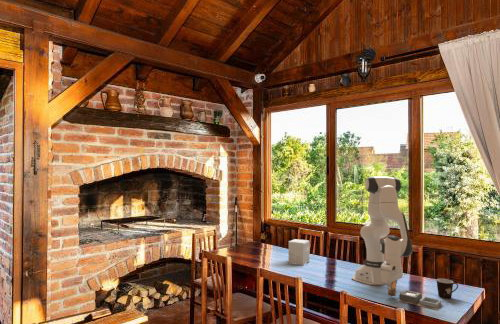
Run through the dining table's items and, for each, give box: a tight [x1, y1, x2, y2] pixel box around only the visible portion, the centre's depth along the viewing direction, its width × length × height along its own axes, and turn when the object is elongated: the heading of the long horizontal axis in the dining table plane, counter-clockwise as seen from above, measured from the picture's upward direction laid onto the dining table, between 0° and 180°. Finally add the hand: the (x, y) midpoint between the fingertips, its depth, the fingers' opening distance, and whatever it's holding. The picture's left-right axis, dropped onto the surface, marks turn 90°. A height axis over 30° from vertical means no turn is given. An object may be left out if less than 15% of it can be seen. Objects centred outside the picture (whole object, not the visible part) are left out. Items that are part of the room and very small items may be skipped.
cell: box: [387, 281, 397, 297], centre depth 205 cm, size 4×4×9 cm
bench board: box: [397, 299, 443, 311], centre depth 198 cm, size 20×11×1 cm, turn 47°
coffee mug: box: [435, 278, 459, 300], centre depth 207 cm, size 12×9×10 cm
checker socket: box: [398, 289, 423, 305], centre depth 201 cm, size 9×9×4 cm
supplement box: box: [288, 238, 310, 266], centre depth 288 cm, size 13×13×18 cm
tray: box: [419, 296, 442, 310], centre depth 194 cm, size 9×9×2 cm
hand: (392, 288), depth 205 cm, fingers closed on cell, 4 cm apart
